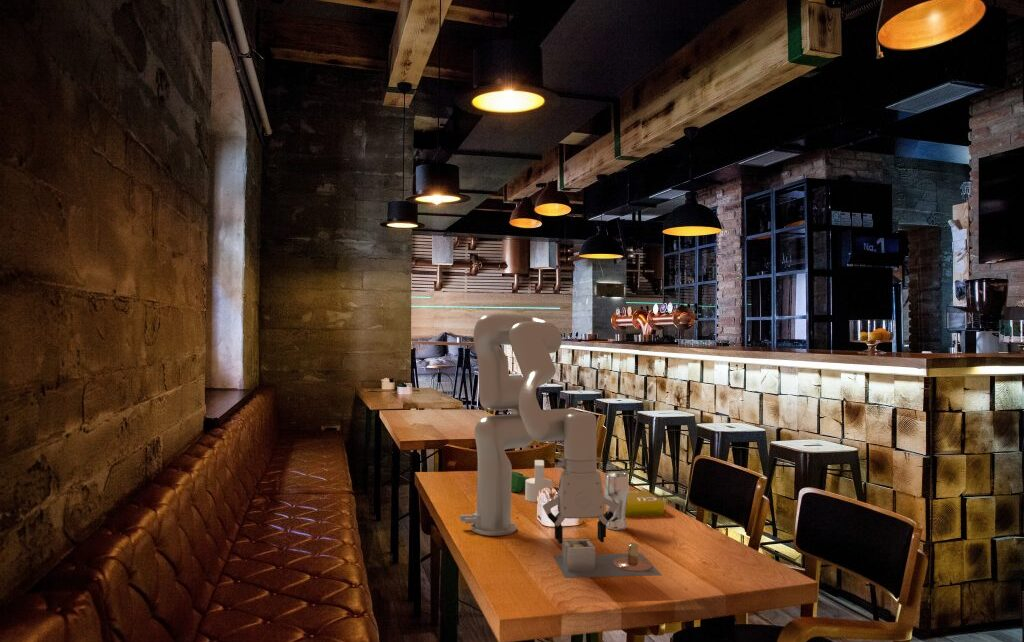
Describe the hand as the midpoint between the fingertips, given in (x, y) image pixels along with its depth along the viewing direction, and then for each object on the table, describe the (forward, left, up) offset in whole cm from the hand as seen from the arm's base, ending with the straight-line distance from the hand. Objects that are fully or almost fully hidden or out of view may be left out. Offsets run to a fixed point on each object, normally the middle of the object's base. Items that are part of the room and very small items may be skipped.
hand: (580, 541), depth 148 cm
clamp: (-4, +79, -8) cm, 80 cm away
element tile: (+29, +51, -8) cm, 60 cm away
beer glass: (+18, +34, -8) cm, 39 cm away
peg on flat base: (+13, +1, -6) cm, 14 cm away
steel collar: (0, +1, -6) cm, 6 cm away
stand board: (+6, +1, -7) cm, 10 cm away
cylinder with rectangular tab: (+1, +66, -8) cm, 66 cm away
